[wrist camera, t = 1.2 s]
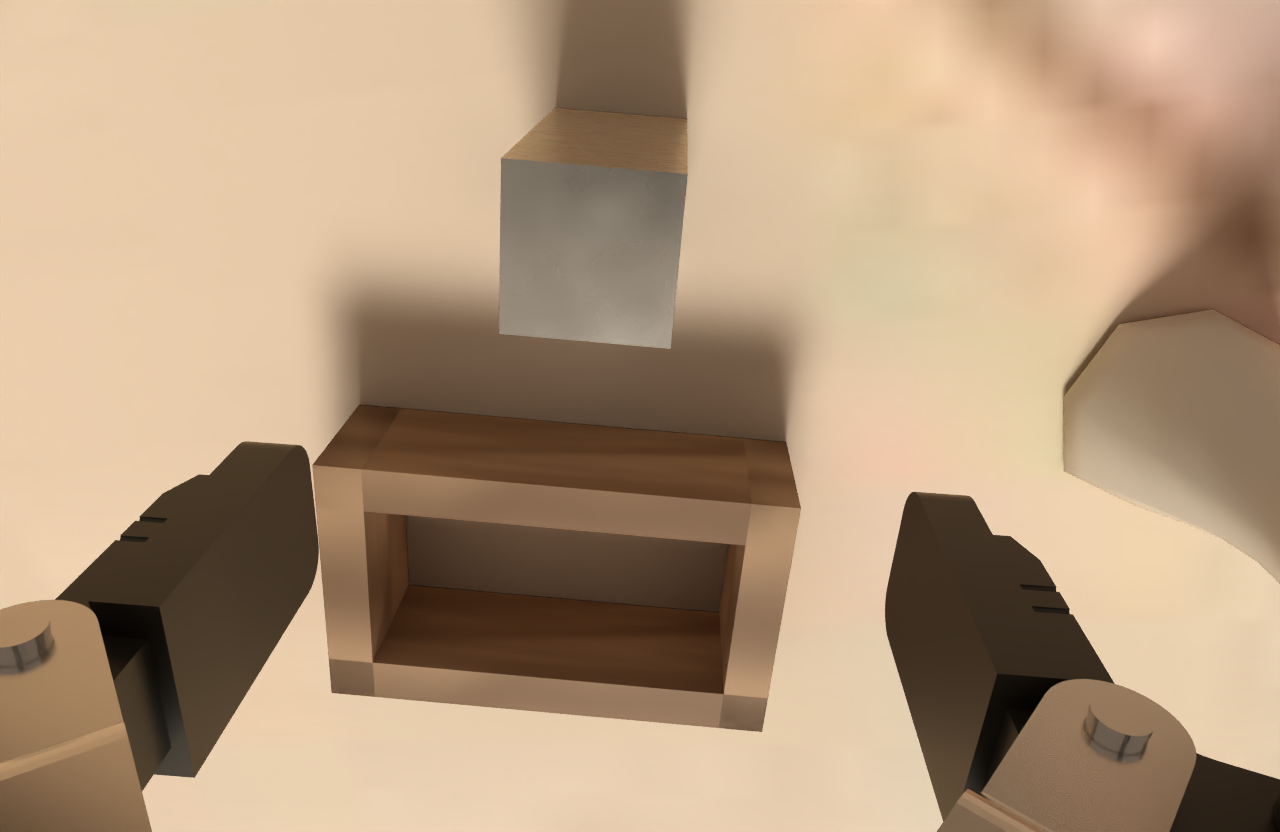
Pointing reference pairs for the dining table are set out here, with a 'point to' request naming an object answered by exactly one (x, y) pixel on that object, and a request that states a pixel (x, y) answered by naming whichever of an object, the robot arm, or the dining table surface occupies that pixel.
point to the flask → (1185, 427)
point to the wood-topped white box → (593, 228)
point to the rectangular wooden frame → (540, 626)
